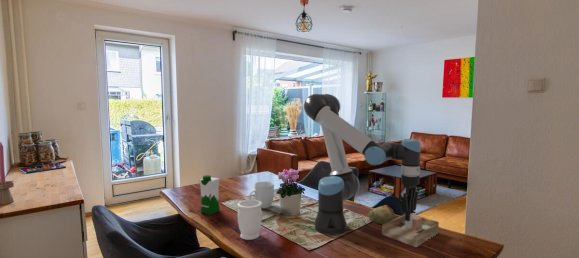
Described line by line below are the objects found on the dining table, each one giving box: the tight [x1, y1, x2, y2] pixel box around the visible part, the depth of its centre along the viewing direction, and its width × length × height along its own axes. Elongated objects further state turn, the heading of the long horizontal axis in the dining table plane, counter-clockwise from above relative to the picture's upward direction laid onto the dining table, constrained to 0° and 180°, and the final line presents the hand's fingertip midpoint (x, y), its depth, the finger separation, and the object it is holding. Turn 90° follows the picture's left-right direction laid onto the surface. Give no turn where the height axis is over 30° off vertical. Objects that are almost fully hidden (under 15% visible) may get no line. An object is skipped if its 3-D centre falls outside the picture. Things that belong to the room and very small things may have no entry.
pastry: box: [367, 204, 397, 225], centre depth 153 cm, size 14×12×8 cm
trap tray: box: [381, 213, 440, 248], centre depth 137 cm, size 16×20×6 cm
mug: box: [248, 181, 275, 209], centre depth 172 cm, size 15×11×13 cm
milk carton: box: [198, 175, 221, 216], centre depth 164 cm, size 9×9×20 cm
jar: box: [236, 199, 263, 241], centre depth 135 cm, size 11×10×15 cm
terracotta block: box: [406, 214, 423, 231], centre depth 138 cm, size 5×5×5 cm
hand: (408, 227), depth 135 cm, fingers closed
